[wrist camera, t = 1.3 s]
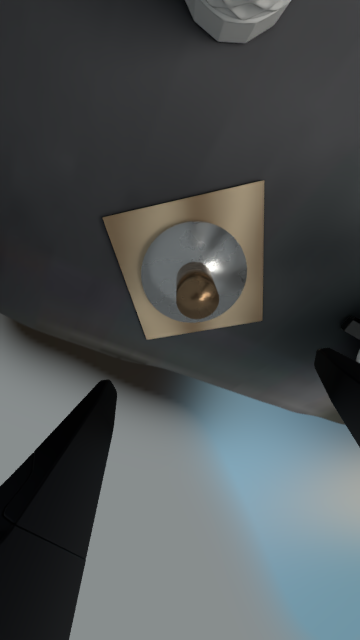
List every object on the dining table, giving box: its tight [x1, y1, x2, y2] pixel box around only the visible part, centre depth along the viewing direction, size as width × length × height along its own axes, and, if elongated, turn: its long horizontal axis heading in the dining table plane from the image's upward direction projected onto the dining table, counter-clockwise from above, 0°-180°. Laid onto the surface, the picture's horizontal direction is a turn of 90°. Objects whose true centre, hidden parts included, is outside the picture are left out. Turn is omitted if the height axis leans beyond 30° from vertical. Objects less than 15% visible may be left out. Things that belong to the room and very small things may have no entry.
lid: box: [141, 221, 247, 323], centre depth 17 cm, size 9×9×5 cm
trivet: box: [103, 180, 264, 340], centre depth 19 cm, size 12×12×1 cm
